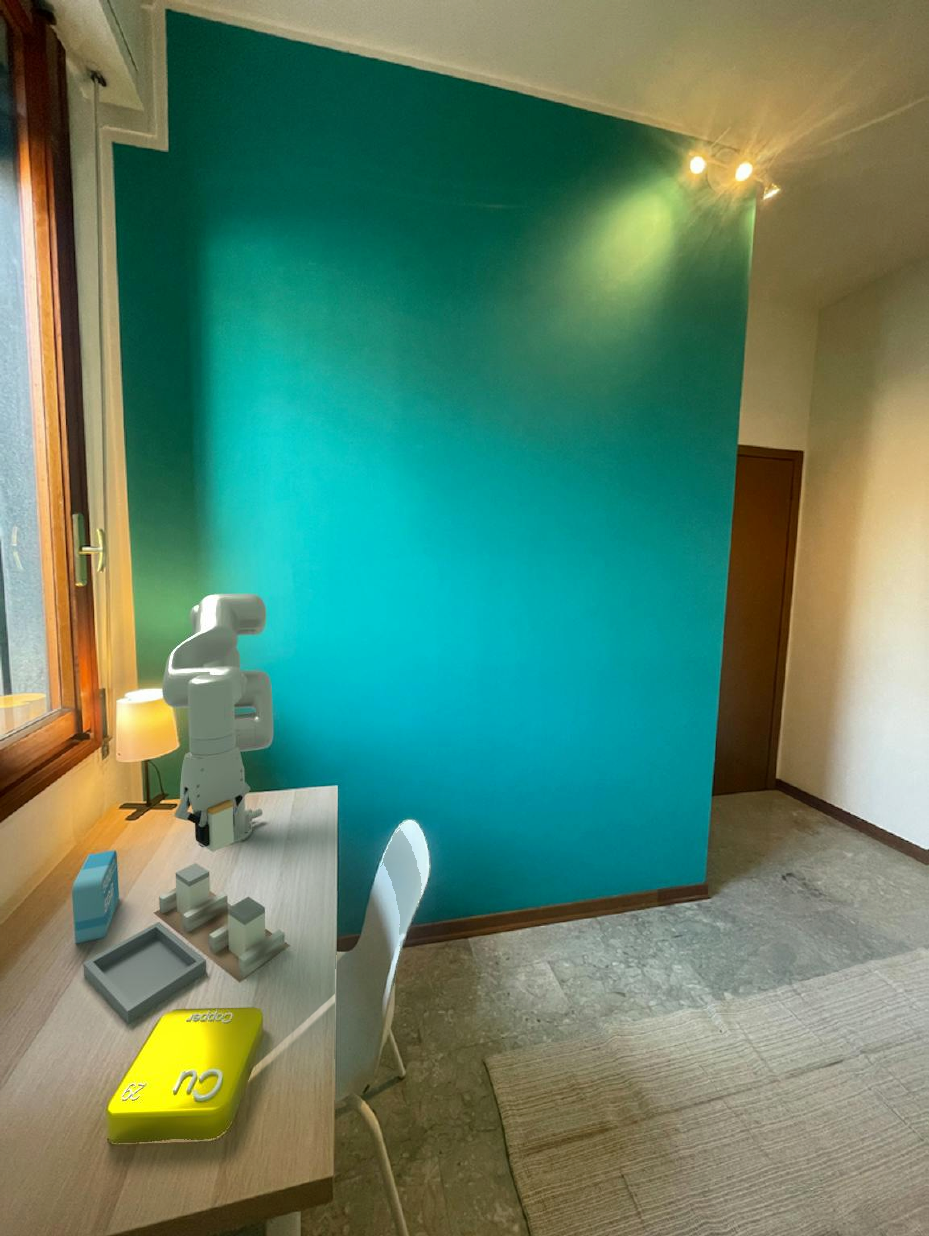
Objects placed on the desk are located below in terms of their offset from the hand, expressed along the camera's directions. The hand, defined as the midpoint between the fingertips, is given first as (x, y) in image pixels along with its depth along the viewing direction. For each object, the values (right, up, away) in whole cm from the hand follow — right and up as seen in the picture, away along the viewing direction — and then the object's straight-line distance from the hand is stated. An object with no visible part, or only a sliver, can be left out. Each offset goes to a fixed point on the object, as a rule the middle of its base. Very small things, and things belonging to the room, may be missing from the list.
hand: (215, 837), depth 94 cm
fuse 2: (+7, -19, -3) cm, 20 cm away
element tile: (+9, -23, -25) cm, 35 cm away
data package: (-25, -19, +4) cm, 31 cm away
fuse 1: (-8, -18, +7) cm, 21 cm away
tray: (-8, -20, -9) cm, 23 cm away
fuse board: (0, -19, +2) cm, 19 cm away
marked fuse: (0, -1, 0) cm, 1 cm away
